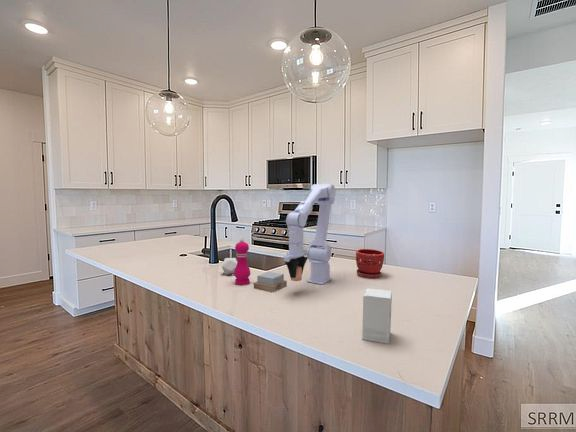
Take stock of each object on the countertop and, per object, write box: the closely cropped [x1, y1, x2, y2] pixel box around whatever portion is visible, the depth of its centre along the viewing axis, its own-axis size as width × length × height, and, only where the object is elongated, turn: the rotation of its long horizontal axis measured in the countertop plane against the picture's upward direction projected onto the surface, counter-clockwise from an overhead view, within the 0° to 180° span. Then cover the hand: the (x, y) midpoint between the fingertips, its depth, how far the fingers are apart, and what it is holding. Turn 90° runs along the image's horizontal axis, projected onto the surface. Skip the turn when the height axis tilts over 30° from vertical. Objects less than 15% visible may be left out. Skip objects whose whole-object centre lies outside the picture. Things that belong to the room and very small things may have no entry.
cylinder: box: [290, 266, 303, 282], centre depth 125 cm, size 4×4×5 cm
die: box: [221, 257, 238, 276], centre depth 154 cm, size 8×9×10 cm
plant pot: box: [355, 248, 385, 279], centre depth 151 cm, size 13×13×12 cm
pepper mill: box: [234, 238, 251, 286], centre depth 139 cm, size 7×7×20 cm
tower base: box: [253, 279, 288, 293], centre depth 133 cm, size 10×10×3 cm
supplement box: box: [361, 288, 393, 344], centre depth 88 cm, size 7×7×13 cm
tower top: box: [256, 271, 285, 286], centre depth 133 cm, size 8×8×3 cm
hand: (296, 276), depth 126 cm, fingers closed on cylinder, 4 cm apart
